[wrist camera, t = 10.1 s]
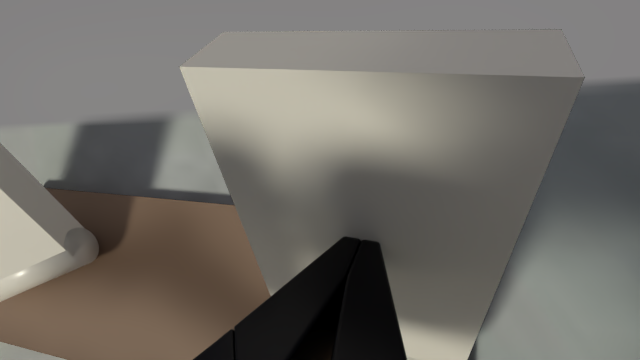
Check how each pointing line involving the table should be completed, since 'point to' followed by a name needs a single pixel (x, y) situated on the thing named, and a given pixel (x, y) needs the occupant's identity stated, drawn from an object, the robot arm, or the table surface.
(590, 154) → the table surface
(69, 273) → the tile board
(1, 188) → the tile
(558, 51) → the tile
